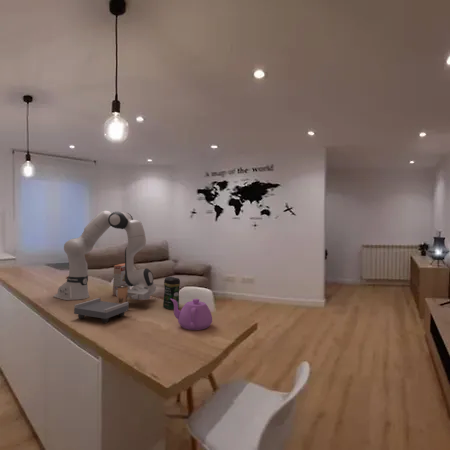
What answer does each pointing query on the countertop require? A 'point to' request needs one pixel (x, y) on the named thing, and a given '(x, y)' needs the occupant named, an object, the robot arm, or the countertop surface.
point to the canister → (122, 294)
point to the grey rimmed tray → (100, 309)
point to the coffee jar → (171, 292)
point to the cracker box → (119, 277)
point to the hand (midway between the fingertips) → (124, 296)
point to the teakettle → (193, 315)
